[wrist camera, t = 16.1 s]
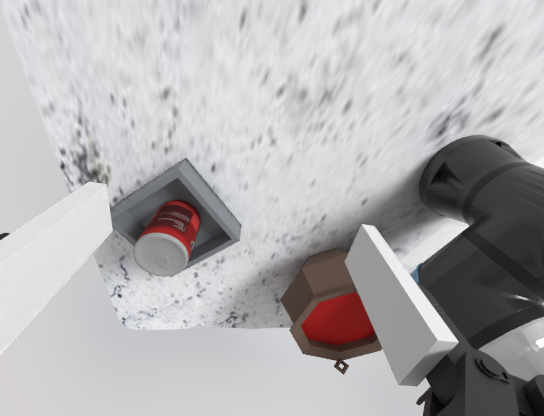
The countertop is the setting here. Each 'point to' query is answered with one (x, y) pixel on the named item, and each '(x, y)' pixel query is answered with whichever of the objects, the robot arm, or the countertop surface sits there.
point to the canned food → (168, 239)
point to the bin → (188, 187)
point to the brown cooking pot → (329, 311)
